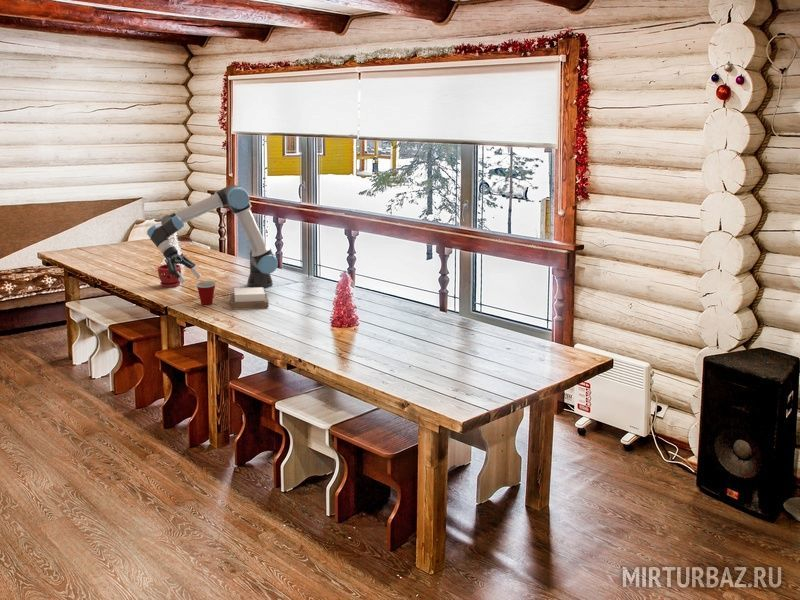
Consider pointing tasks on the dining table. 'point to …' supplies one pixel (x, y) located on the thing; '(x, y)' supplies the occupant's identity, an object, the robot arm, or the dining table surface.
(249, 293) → the tower top slab
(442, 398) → the dining table surface
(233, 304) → the tower base slab
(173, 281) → the plant pot
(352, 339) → the dining table surface
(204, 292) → the plastic cup
